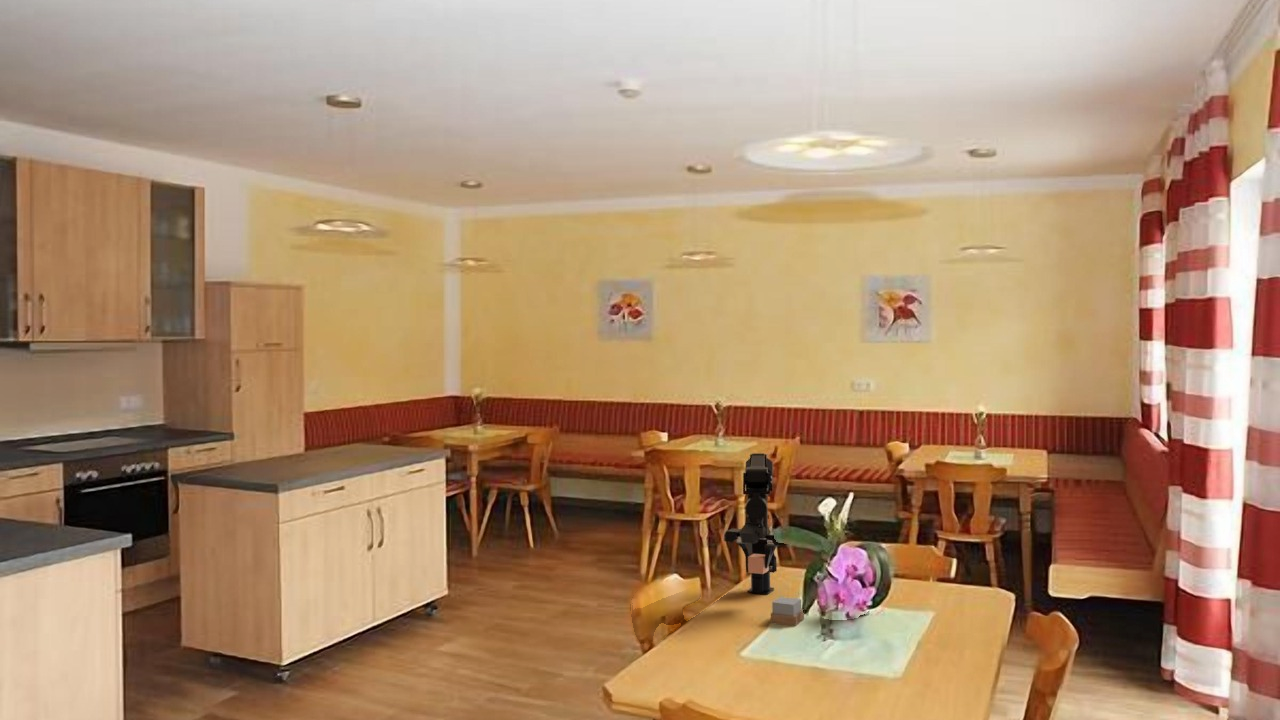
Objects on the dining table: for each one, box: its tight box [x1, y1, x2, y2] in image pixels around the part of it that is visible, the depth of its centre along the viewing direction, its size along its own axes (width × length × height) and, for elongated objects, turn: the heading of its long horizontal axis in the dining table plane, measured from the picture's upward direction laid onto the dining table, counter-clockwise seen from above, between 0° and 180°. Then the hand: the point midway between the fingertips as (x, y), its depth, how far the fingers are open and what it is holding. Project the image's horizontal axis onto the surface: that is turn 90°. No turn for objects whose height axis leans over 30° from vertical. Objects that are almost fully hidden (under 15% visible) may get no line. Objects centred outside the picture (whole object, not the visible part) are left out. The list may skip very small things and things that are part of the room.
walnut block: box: [770, 608, 805, 627], centre depth 265 cm, size 7×7×3 cm
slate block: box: [771, 596, 802, 616], centre depth 265 cm, size 6×6×3 cm
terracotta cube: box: [747, 554, 769, 574], centre depth 279 cm, size 4×4×4 cm
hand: (758, 567), depth 279 cm, fingers closed on terracotta cube, 4 cm apart
